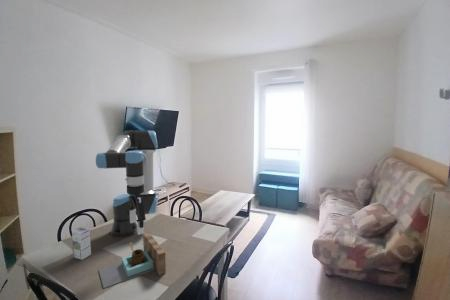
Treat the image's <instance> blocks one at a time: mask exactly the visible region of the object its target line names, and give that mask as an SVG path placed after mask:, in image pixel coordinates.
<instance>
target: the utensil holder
mask: <svg viewBox="0 0 450 300" xmlns="http://www.w3.org/2000/svg"><path fill="white" fill-rule="evenodd" d="M129 245H130V248H131V249H130V250H132V252H131V255H132V258H131V265H132V267H134V266H137V265H139V264H142V263H145V259H144V252H143V251H144V249H142V248H138V249H134V246H133V243H132V241H130V242H129Z"/></svg>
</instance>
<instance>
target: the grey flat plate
mask: <svg viewBox="0 0 450 300" xmlns="http://www.w3.org/2000/svg"><path fill="white" fill-rule="evenodd" d="M145 262H146V261H145ZM129 266H130V268H131V267H132V265H131V263H129ZM153 267H154V266H153ZM153 271H156V269H155V267H154V268H151V269H149V270H146V271H143V272H140V273H137V274H135V275H132V276H129V277H128V276H127V274H126V272H125V270H124V267H123V265H122V262H119V263H117V264H113V265H111V266H107V267H105V268H101V269H99V270H98V273H99V276H100V281H101V284H102V288H103V289H107V288H109V287H111V286H114V285H115V286H116V285H118V284H120V283H123V282H125V281H128V280H131V279H133V278H137V277H139V276H142V275H144V274H147V273H150V272H153Z"/></svg>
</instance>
